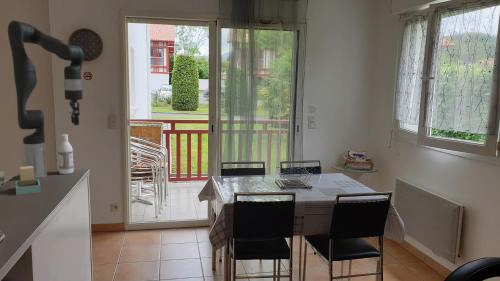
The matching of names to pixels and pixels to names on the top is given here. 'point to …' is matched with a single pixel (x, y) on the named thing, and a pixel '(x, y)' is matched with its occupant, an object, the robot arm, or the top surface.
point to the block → (27, 182)
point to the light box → (27, 173)
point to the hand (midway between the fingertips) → (75, 123)
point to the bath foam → (65, 156)
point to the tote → (28, 188)
